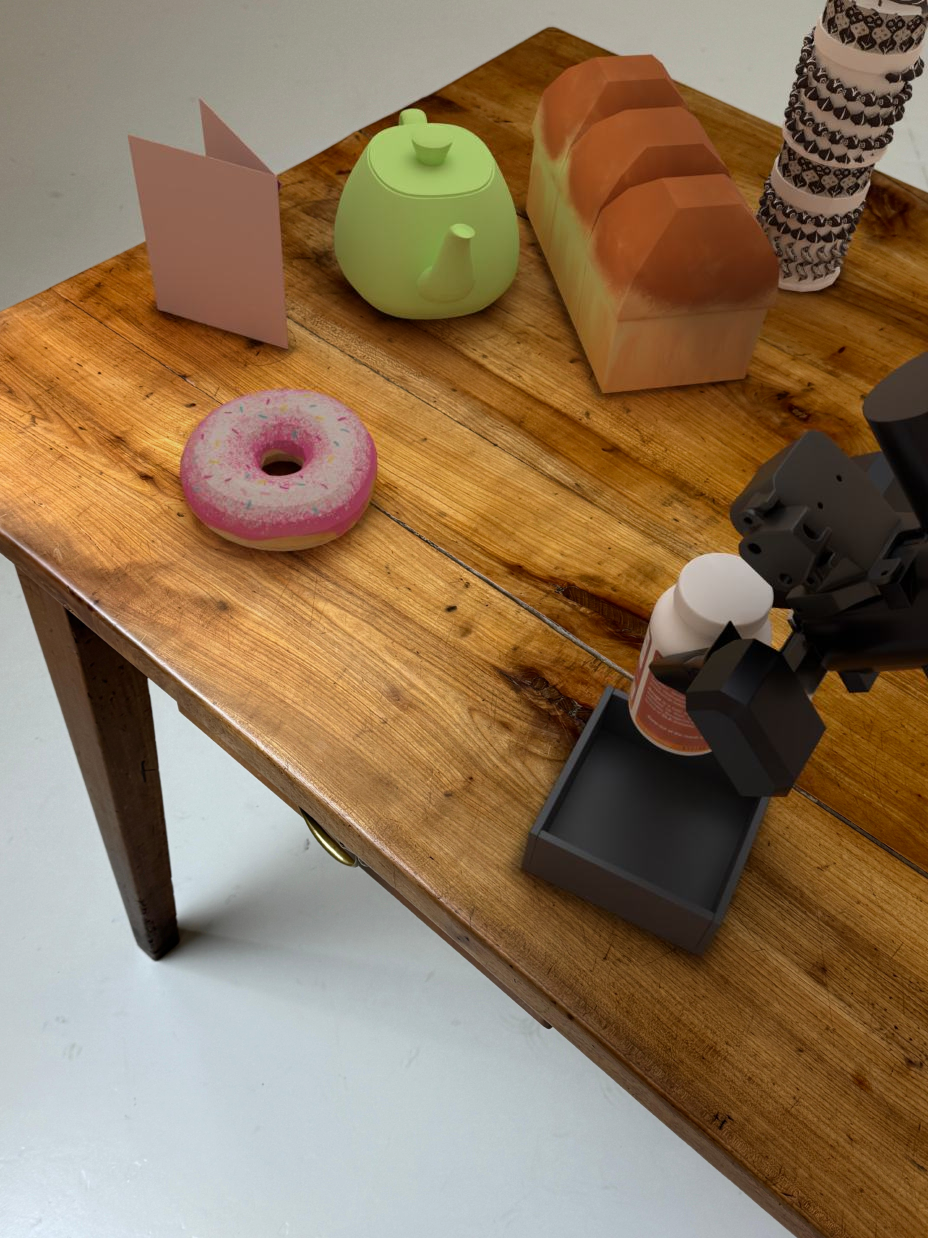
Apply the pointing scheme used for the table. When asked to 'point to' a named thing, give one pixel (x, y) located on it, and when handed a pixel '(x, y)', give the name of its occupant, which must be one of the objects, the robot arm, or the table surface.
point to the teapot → (427, 222)
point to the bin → (644, 830)
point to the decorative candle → (838, 132)
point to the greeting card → (214, 232)
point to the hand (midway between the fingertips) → (683, 629)
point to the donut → (279, 505)
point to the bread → (646, 229)
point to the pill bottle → (695, 640)
